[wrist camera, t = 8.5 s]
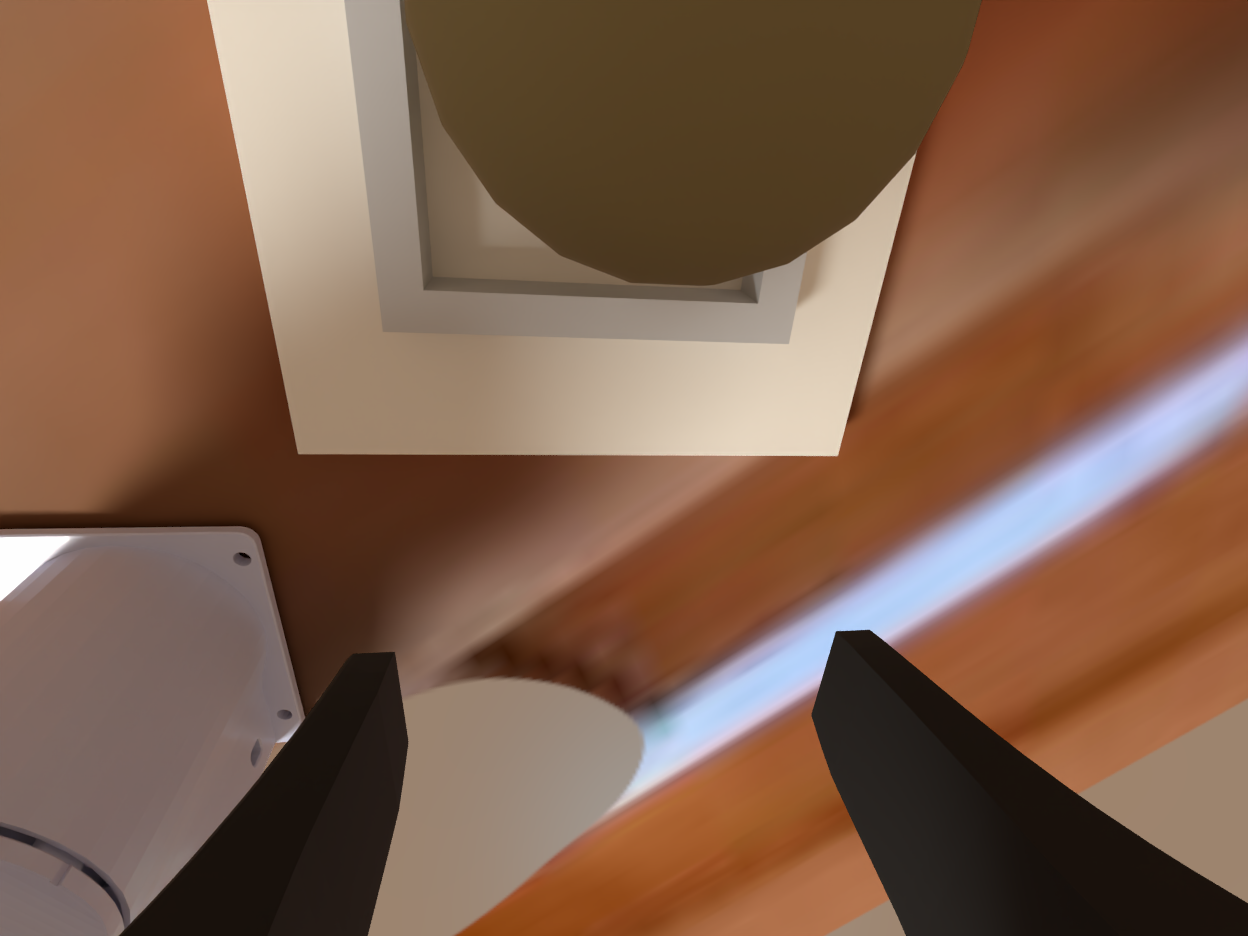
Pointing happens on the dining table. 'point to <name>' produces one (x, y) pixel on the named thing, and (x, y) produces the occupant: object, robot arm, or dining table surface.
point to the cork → (688, 119)
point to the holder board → (501, 280)
